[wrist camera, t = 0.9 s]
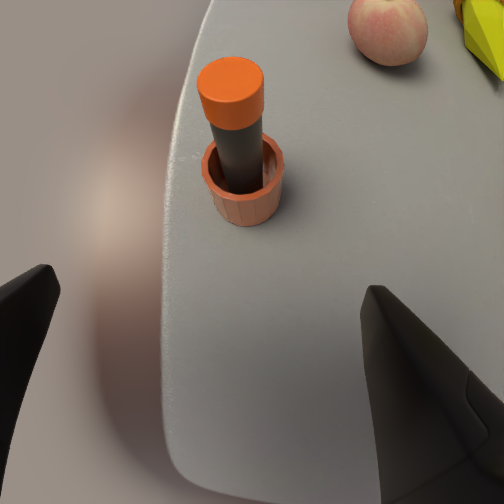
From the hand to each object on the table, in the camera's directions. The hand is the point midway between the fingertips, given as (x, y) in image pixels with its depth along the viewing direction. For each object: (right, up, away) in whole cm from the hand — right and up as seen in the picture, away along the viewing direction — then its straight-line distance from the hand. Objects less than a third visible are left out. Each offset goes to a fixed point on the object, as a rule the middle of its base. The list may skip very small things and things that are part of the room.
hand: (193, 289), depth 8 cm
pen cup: (+1, +5, +15) cm, 16 cm away
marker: (+1, +5, +15) cm, 15 cm away
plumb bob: (+32, +31, +19) cm, 49 cm away
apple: (+14, +21, +18) cm, 31 cm away
